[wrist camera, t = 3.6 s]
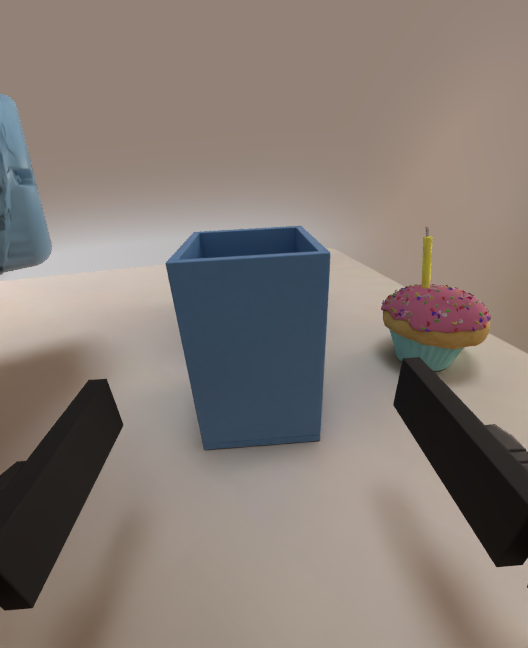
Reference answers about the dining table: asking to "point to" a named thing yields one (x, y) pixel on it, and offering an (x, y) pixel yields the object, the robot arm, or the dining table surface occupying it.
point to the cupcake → (434, 319)
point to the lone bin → (253, 333)
